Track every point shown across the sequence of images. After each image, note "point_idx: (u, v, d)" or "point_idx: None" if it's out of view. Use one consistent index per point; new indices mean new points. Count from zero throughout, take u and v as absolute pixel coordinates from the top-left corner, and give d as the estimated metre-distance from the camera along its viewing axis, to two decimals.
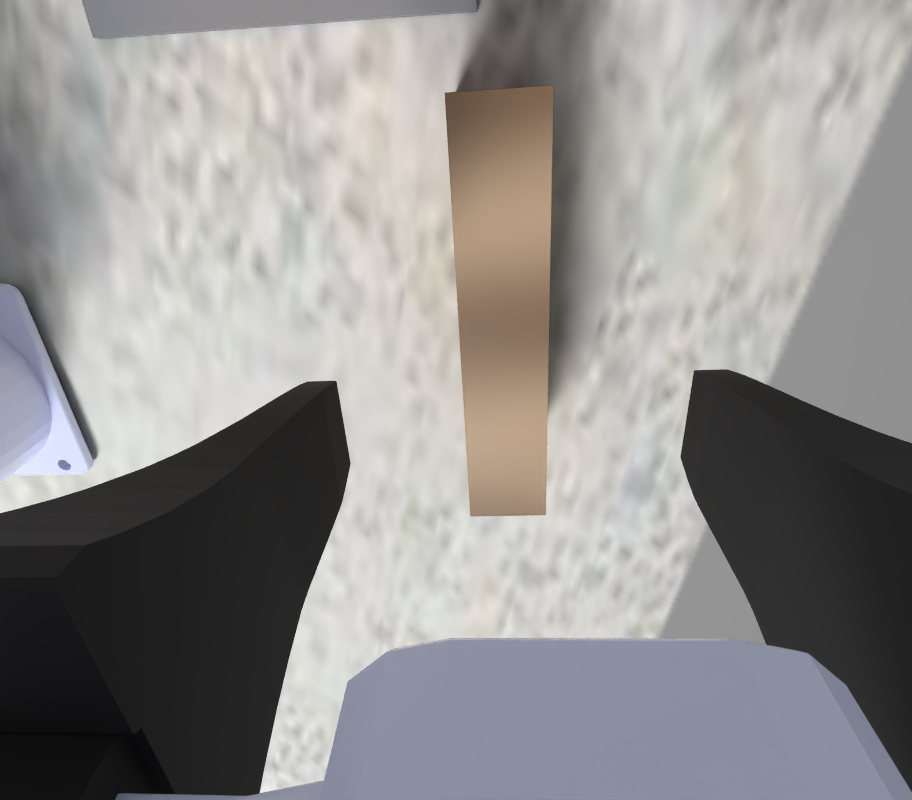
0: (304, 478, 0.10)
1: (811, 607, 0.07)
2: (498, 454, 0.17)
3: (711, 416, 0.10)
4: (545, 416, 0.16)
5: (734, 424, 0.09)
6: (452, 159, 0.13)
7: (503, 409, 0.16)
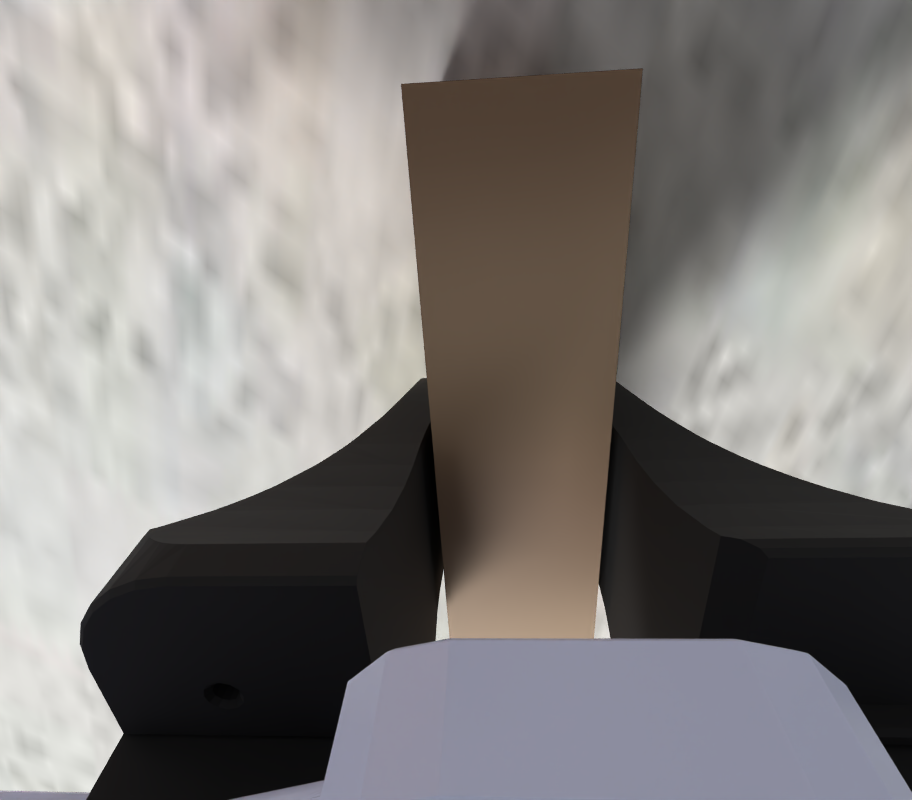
0: None
1: (630, 607, 0.08)
2: None
3: None
4: None
5: None
6: (420, 223, 0.06)
7: (517, 634, 0.09)
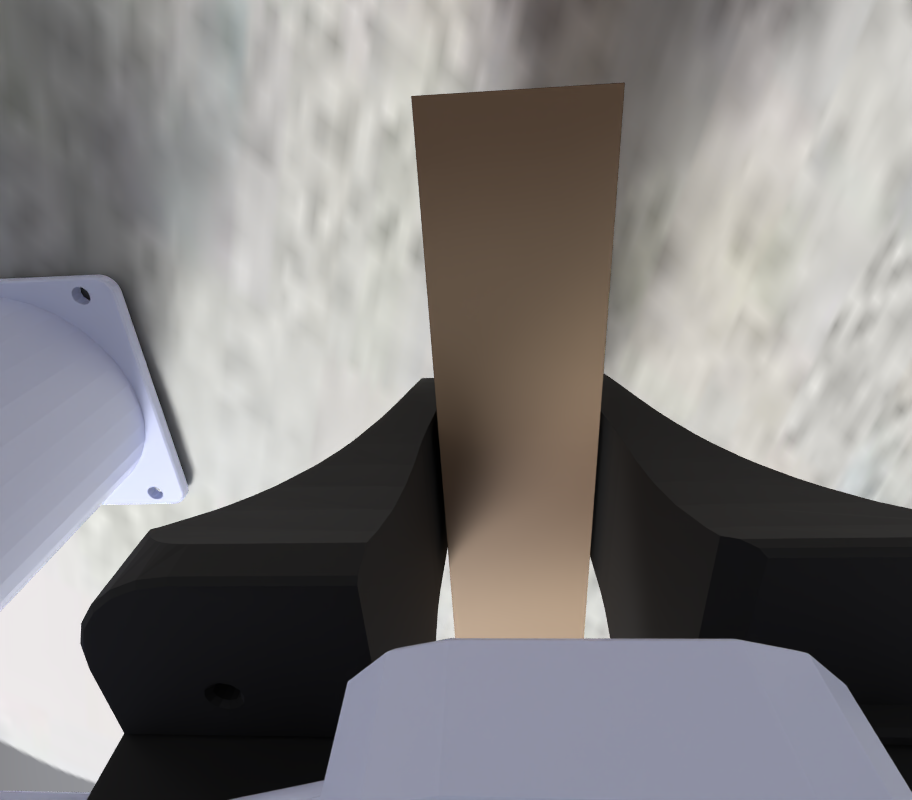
0: (439, 476, 0.09)
1: (629, 607, 0.08)
2: None
3: None
4: (582, 613, 0.10)
5: None
6: (427, 220, 0.07)
7: (515, 602, 0.10)
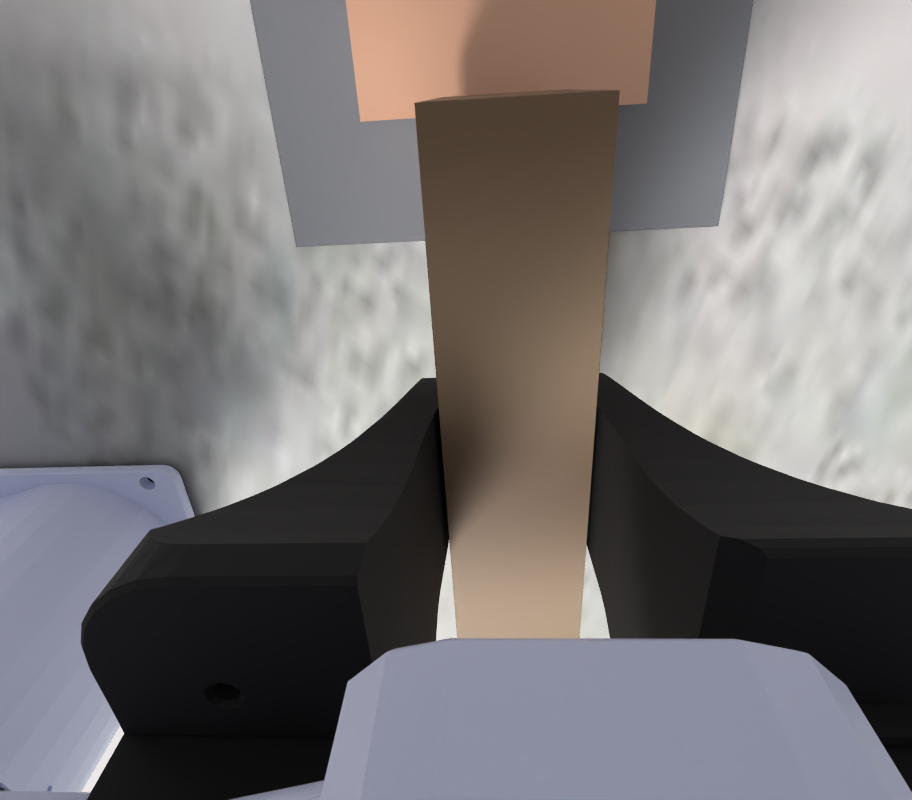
0: (439, 475, 0.09)
1: (629, 607, 0.08)
2: None
3: None
4: (579, 600, 0.11)
5: None
6: (430, 222, 0.07)
7: (514, 589, 0.11)
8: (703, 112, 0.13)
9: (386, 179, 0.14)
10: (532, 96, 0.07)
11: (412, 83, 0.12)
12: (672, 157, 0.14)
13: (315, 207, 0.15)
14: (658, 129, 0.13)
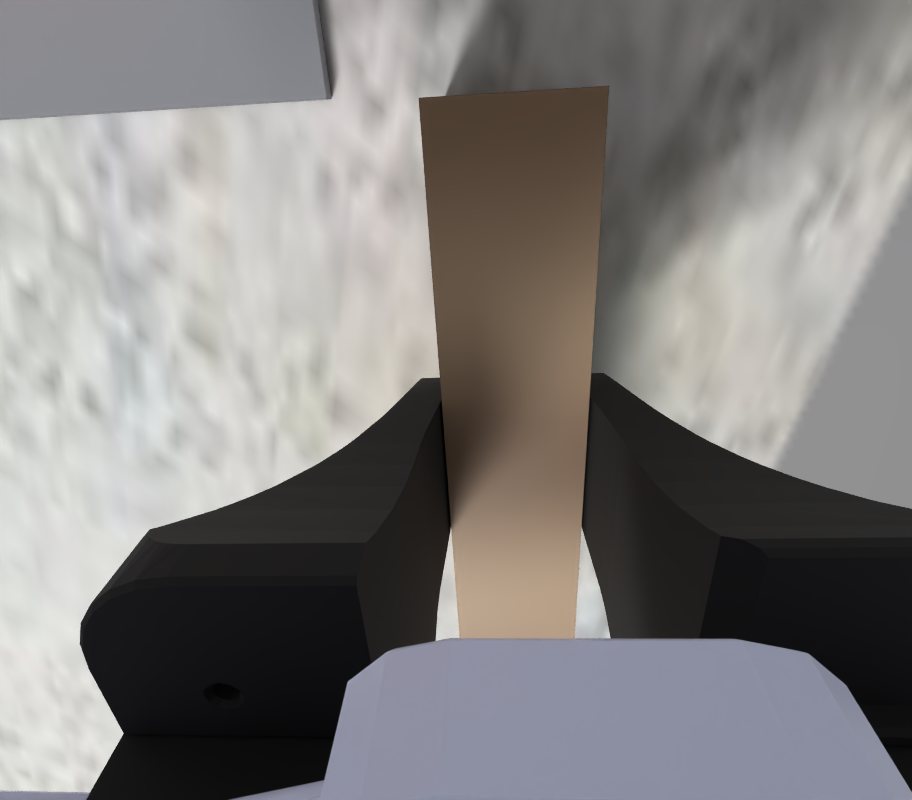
0: (439, 476, 0.09)
1: (630, 607, 0.08)
2: (504, 622, 0.12)
3: None
4: (575, 578, 0.11)
5: (591, 427, 0.09)
6: (433, 209, 0.08)
7: (513, 568, 0.11)
8: None
9: None
10: (528, 91, 0.07)
11: None
12: (241, 0, 0.11)
13: None
14: None
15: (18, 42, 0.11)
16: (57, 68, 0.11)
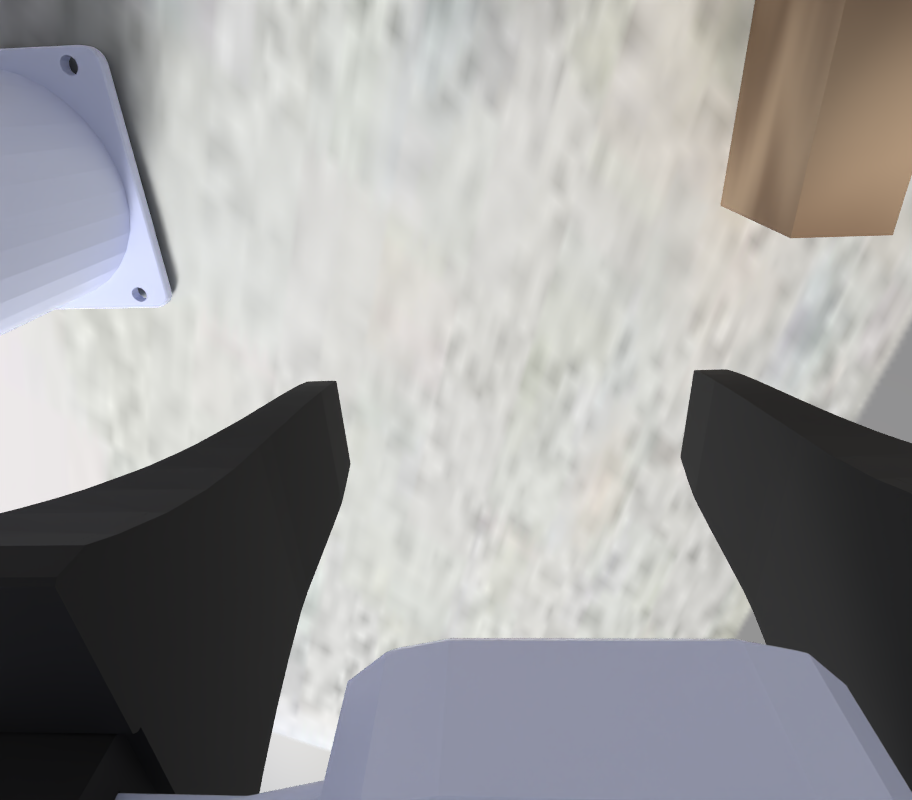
0: (304, 477, 0.10)
1: (811, 607, 0.07)
2: (858, 130, 0.13)
3: (711, 416, 0.10)
4: None
5: (734, 424, 0.09)
6: None
7: (889, 50, 0.12)
8: None
9: None
10: None
11: None
12: None
13: None
14: None
15: None
16: None
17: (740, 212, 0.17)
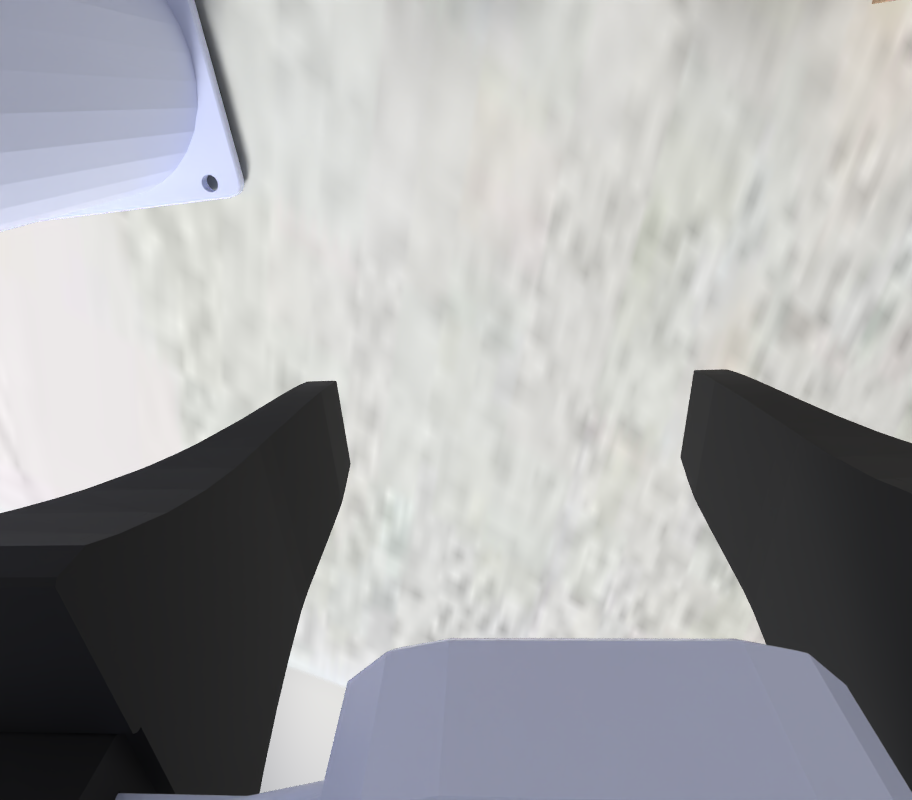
0: (304, 477, 0.10)
1: (811, 607, 0.07)
2: None
3: (711, 416, 0.10)
4: None
5: (734, 424, 0.09)
6: None
7: None
8: None
9: None
10: None
11: None
12: None
13: None
14: None
15: None
16: None
17: None
